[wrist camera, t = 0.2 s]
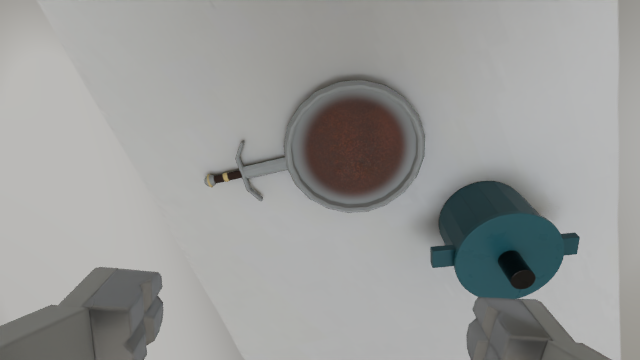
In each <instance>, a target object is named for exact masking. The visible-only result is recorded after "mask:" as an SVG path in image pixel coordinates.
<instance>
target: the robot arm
mask: <svg viewBox="0 0 640 360" xmlns="http://www.w3.org/2000/svg"><path fill="white" fill-rule="evenodd" d="M161 289H162V278H161V275H160V274H159V273H158V272H149V271H139V270H129V269H118V268H105V267H99V268H95V269H94V270H93V271H92V272H91V273H90V274H89V275H88V276H87V277H86V278H85V279H84V280H83V281H82V282H81V283H80V284H79V285H78V286H77V287H76V288H75V289H74V290H73V291H72V292H71V293H70V294H69V295H68V296H67V297H66V298H65V299H64V300H63V301H62V302H61V303H60V304H59V305H50V306H48V307H45V308H43V309H40V310H38V311H35V312H33V313H31V314H28V315H26V316H23V317H21V318H18V319H16V320H14V321H11V322H9V323H7V324H4V325H2V326H0V360H144V358H145V357H146V355H147V349H146V345H148V344H149V343H151V342H153V341H154V340H155V338H156V336H157V334H158V333H159V330H160V326H161V323H162V318H163V302H162V301H161V299H160V298H159V297H158V296H157V295H158V293H159V292H160V290H161ZM473 312H474V314H475V316H476V317H477V318H476V319H475V320H474V321H473V322H471V323H470V324H469V327H468V332H467V349H468V353H469V356H470V358H471V360H611V359H609V358H607V357H606V356H604V355H602V354H600V353H599V352H597V351H595V350H593V349H592V348H590V347H588V346H586V345H585V344H583V343H576V342H575V341H574V340H573V339H572V338H571V336H570V335H569V334H568V333H567V332H566V331H565V329H564V328H563V327H562V326H561V325H560V324H559V322H558V321H557V320H556V319H555V318H554V317H553V315H552V314H551V313H550V312H549V311H548V310H547V308H546V307H545V306H544V305H543V304H542V303H541V302H540V301H538V300H534V299H506V298H488V297H478V298H477V300H476V301H475V304H474V307H473Z"/></svg>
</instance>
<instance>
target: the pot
mask: <svg viewBox="0 0 640 360" xmlns="http://www.w3.org/2000/svg"><path fill="white" fill-rule="evenodd" d="M509 211H526V212H531V213H535V214H538V213H537V211H536V210H535V209H534V208H533V207H532V206H531V205H530V204H529V203H528V202H527V201H526V200H525V199H524V198H523V197H522V196H521V195H520V194H519V193H517V192H516V191H515V190H514V189H513V188H511V187H510V186H508V185H506V184H503V183H500V182H495V181H482V182H477V183H473V184H470V185H468V186H465V187H464V188H462V189H460V190H459V191H457V192H456V193H455V194H453V195H452V196H451V197H450V198H449V199H448V201H447V202H446V203H445V205H444V207H443V208H442V211H441V213H440V217H439V229H440V234H441V236H442V238H443V240H444V242H445V246H435V247H430V248H431V265H432V267H433V268H436V267H446V266H454V256H455V252H456V249H457V247H458V244H459V243H460V241H461V239H462V238H463V237H464V235H465V234H466V233H467V232H468V231H469V230H470V229H471V228H472V227H474V226H475V225H476V224H478V223H479V222H481V221H482V220H484V219H486V218H488V217H491V216H493V215H496V214H499V213H503V212H509ZM538 215H539V214H538ZM561 236H562V238H563V242H564V255H572V254H577V250H578V244H579V238H580V237H579V236H578V235H577V234H576V233H567V234H561Z"/></svg>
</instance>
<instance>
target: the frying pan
mask: <svg viewBox="0 0 640 360" xmlns="http://www.w3.org/2000/svg"><path fill="white" fill-rule="evenodd" d="M243 145H244V141H242V142H241V144H240V147H239V149H238V152H237V155H236V162H237V164H238V167H239V170H238V171H234V172H229V173H223V174H221V175H216V176H214V175H211V174H208V175H207V176H206V177H205V180H204V181H205V184H206V185H207V186H210V187H213V186H214V185H215V184H216V183H220V182H224V181H225V182H228V181H230V180H233V179H238V178H243V181H244V184H245V187H246V189H247V191H248V192H250V193H251V194H252V195H253V196H255V197H256V198H257V199H258V200H259V201H262V199H263V197H262V196H261V195H259V194H258V193H257V192H256V191H254V190H253V189H252V188H251V187H250V184H249V181H248V179H249V178H253V177H258V176H262V175H267V174H271V173H276V172H280V171H285V170H288V171H289V173H290V175H291V177H292V179H293V181H294V183H295V185H296V186H297V187H298V188H299V189H300V190H301V191H302V192H303V193H304V194H305V195H306V196H307V197H308V198H309V199H311V200H313V201H315V202H317V203H318V204H320V205H322V206H324V207H326V208H328V209H332V210H337V211H342V212H347V213H352V212H368V211H370V210H373V209H376V208H379V207H382V206H385V205H387V204H388V203H390V202H391V201H393V200H394V199H396V198H397V197H398V196H400V195H401V194H403V193H404V192H405V191H406V189H407V188H408V187H409V186H410V184H411V183H412V182H413V180H414V179H415V178H416V177H417V175H418V172H419V169H420V167H421V164H422V161H423V159H424V149H425V134H424V131H423V128H422V125H421V122H420V119H419V116H418V114H417V113H416V112H415V110H414V109H413V108H412V107H411V105H410V104H409V103H408V101H407V100H406V99H405V98H404V97H403V96H401V95H400V94H398V93H396V92H395V91H393V90H392V89H390V88H389V87H387V86H385V85H381V84H377V83H373V82H369V81H365V80H356V81H344V82H337V83H335V84H333V85H330V86H328V87H325V88H323V89H321V90H318V91H316V92H315V93H314V94H313V95H312V96H311V97H309V98H308V99H307V100H306V101H305V102H304V103H302V104H301V105H300V106H299V108H298V109H297V111H296V113H295V114H294V116H293V118H292V119H291V121H290V123H289V124H288V127H287V132H286V137H285V142H284V153H285V158H280V159H276V160H272V161H267V162H263V163H258V164H254V165H249V166H245V167H243V164H242V161H241V159H240V154H241V151H242V148H243Z"/></svg>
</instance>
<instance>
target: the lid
mask: <svg viewBox="0 0 640 360" xmlns="http://www.w3.org/2000/svg"><path fill="white" fill-rule="evenodd" d="M563 256H564V242H563V238H562V236H561V234H560V232H559V231H558V229H557V228H556V227H555V226H554V225H553V224H552V223H551V222H550V221H549V220H547V219H546V218H544V217H542V216H540V215H538V214H535V213H531V212H526V211H509V212H503V213H499V214H496V215H493V216H491V217H488V218H486V219H484V220H482V221H481V222H479V223H478V224H476V225H475V226H474V227H472V228H471V229H470V230H469V231H468V232H467V233H466V234H465V235H464V237H463V238H462V239H461V241H460V243H459V244H458V247H457V249H456V252H455V256H454V268H455V272H456V275H457V277H458V279H459V281H460V283H461V284H462V285H463V287H464V288H465V289H467V290H468V291H469V292H470V293H472V294H474V295H476V296H478V297H488V298H506V299H517V298H520V297H523V296H526V295H528V294H531V293H533V292H535V291H536V290H538V289H540V288H541V287H542V286H544V285H545V284H546V283H547V282H548V281H549V280H550V279H551V278H552V277H553V276H554V275H555V273H556V272H557V271H558V269H559V267H560V265H561V263H562V260H563Z"/></svg>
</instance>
